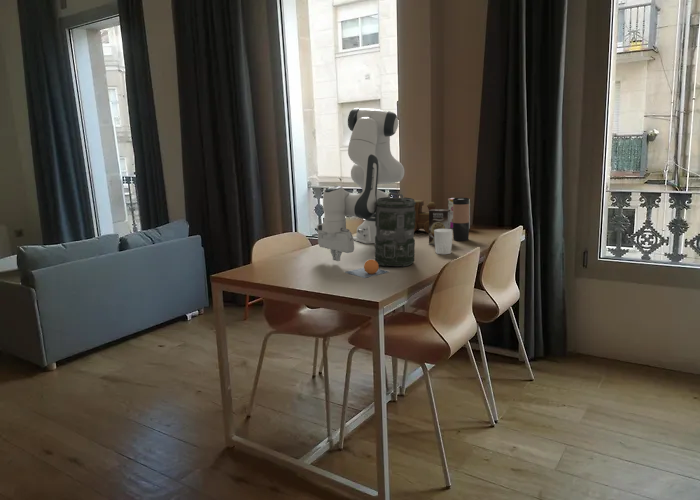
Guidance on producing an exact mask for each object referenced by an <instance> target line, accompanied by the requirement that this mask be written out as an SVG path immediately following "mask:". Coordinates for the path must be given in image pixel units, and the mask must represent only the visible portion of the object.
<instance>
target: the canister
mask: <svg viewBox="0 0 700 500" xmlns="http://www.w3.org/2000/svg"><path fill="white" fill-rule="evenodd" d="M387 194H388V197H384V198H379V199H378V200H377V201H376V205H377V206H376V211H375V226H376V236H375V243H374V260H375V261H376V262H377V263H378V265H379V266H381V267H382V266H383V267H402V268H403V267H409V266H411V265H413V263H414V262H415V246H416V242H415V241H416V240H415V232H414V228H415V206H414V205H415V204H416V202H415V201H414V200H415V199H414V198H411V197H405V196H404V195H403V194H402V193H394V192H389V193H387ZM391 195H392V196H401V197H391Z"/></svg>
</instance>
